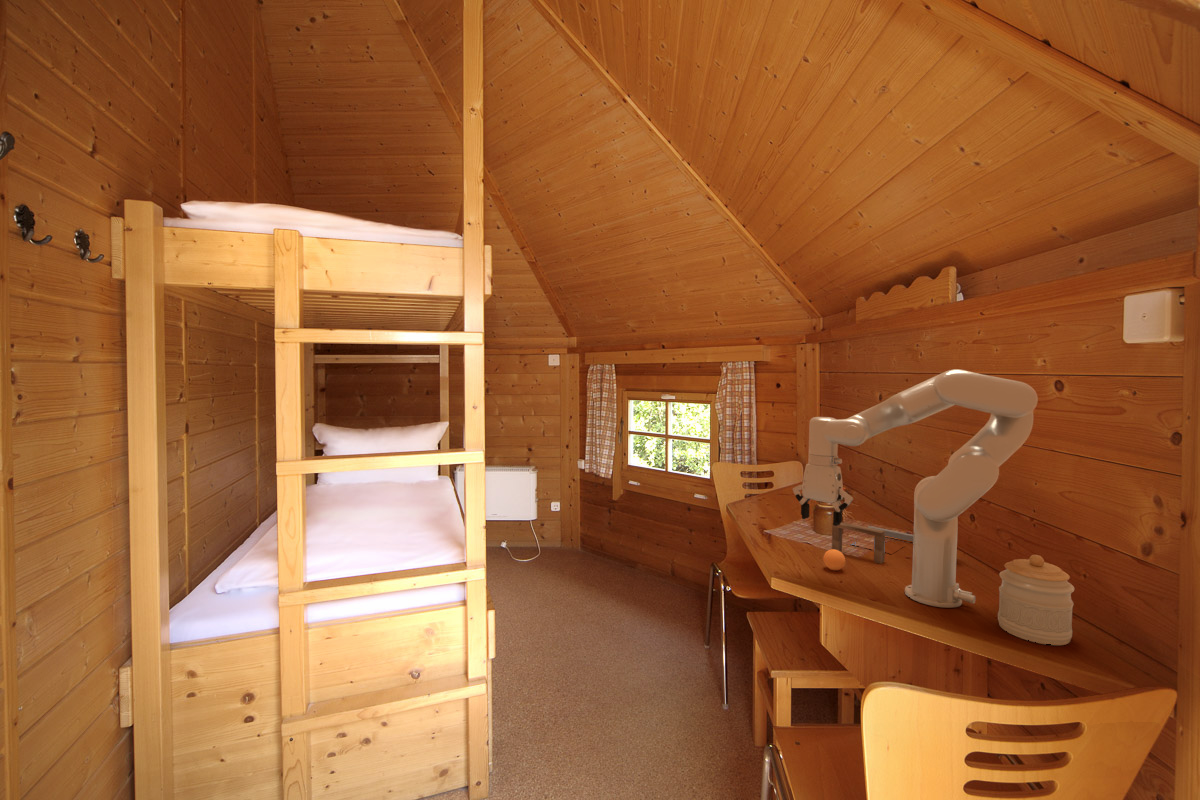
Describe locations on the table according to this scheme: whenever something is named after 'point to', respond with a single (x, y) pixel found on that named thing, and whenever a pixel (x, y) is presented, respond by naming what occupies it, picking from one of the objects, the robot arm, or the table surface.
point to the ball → (834, 559)
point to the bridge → (879, 534)
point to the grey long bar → (895, 534)
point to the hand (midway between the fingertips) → (820, 521)
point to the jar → (1036, 601)
